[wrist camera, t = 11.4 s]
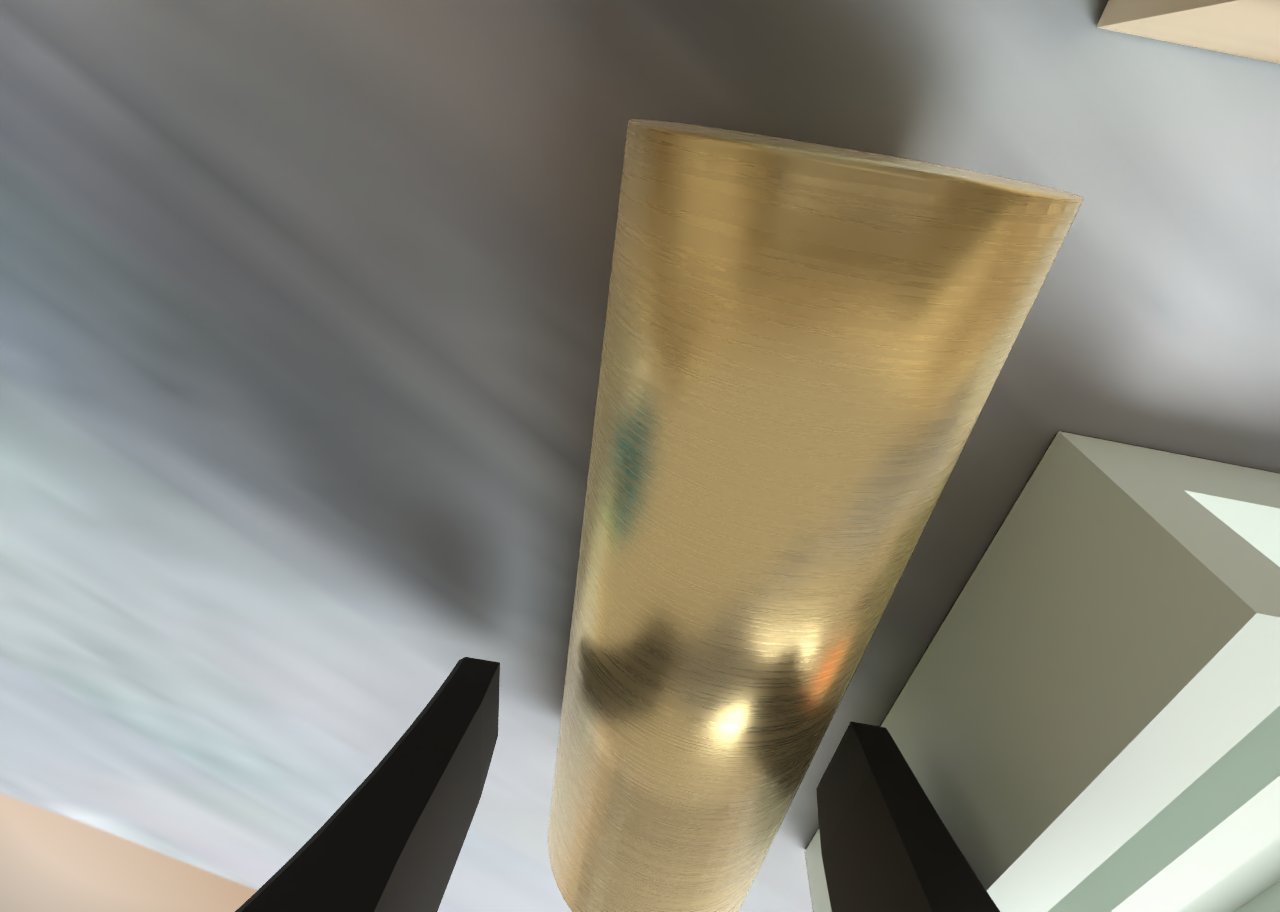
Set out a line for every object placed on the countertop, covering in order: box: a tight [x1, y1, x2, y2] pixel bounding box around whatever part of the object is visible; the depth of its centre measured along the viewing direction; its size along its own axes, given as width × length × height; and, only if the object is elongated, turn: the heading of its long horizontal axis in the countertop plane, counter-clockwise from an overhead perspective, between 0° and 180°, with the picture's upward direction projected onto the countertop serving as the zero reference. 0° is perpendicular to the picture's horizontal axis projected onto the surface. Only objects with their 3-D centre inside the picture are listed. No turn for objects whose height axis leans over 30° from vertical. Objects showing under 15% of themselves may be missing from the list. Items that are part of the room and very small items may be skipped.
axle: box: [548, 119, 1084, 912], centre depth 9 cm, size 12×4×4 cm, turn 172°
